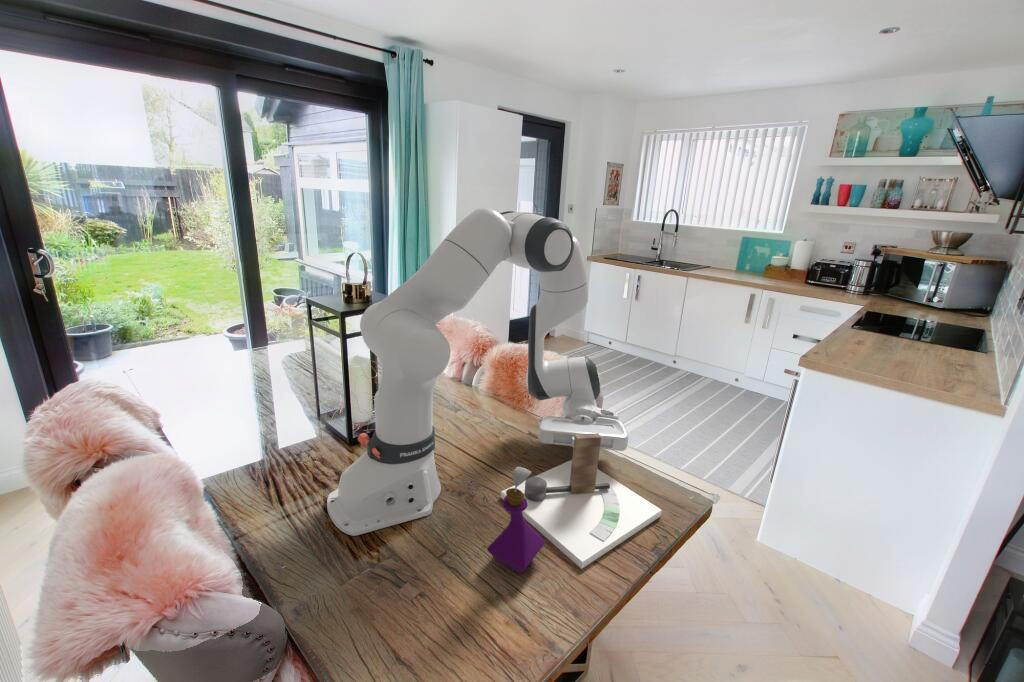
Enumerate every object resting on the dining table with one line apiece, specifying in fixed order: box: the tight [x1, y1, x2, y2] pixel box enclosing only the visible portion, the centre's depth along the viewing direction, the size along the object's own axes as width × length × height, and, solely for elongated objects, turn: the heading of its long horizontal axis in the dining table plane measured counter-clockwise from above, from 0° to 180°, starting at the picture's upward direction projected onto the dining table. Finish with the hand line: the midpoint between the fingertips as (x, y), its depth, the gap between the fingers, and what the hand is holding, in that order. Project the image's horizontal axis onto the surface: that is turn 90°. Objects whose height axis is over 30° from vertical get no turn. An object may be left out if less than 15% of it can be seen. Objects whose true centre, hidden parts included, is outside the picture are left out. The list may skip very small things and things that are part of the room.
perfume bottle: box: [486, 466, 547, 574], centre depth 75 cm, size 8×8×18 cm
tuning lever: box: [525, 433, 610, 501], centre depth 91 cm, size 18×4×13 cm, turn 100°
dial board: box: [500, 459, 663, 570], centre depth 92 cm, size 23×23×2 cm
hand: (584, 452), depth 97 cm, fingers closed
